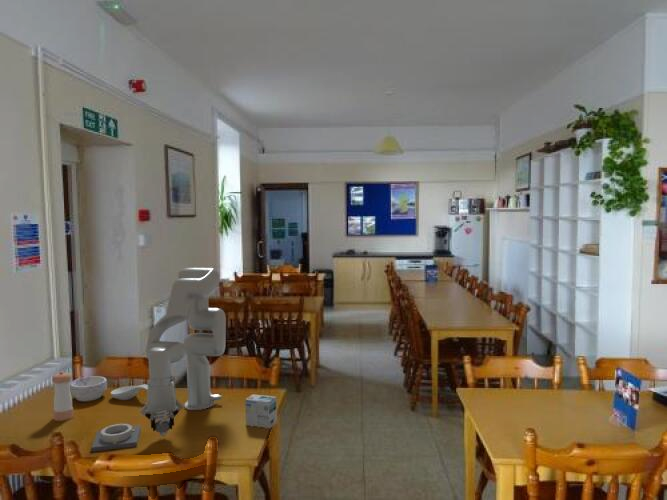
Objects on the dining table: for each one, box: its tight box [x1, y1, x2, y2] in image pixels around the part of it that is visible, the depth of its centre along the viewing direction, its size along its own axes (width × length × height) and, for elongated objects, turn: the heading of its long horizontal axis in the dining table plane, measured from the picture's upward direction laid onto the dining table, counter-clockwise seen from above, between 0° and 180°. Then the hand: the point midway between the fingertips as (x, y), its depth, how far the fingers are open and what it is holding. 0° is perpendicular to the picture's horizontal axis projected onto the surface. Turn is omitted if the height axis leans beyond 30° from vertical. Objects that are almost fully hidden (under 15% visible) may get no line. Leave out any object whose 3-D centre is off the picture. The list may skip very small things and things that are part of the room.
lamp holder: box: [90, 423, 141, 453], centre depth 191 cm, size 15×15×4 cm
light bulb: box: [154, 409, 170, 437], centre depth 192 cm, size 6×6×12 cm
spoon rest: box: [110, 383, 149, 401], centre depth 234 cm, size 24×12×7 cm, turn 68°
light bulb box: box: [244, 393, 278, 430], centre depth 204 cm, size 11×7×11 cm, turn 71°
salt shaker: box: [51, 370, 74, 422], centre depth 213 cm, size 7×7×19 cm
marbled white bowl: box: [70, 375, 108, 402], centre depth 236 cm, size 15×15×8 cm
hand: (162, 428), depth 192 cm, fingers closed on light bulb, 5 cm apart
